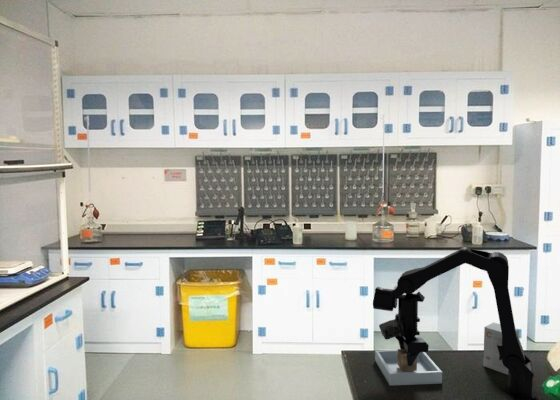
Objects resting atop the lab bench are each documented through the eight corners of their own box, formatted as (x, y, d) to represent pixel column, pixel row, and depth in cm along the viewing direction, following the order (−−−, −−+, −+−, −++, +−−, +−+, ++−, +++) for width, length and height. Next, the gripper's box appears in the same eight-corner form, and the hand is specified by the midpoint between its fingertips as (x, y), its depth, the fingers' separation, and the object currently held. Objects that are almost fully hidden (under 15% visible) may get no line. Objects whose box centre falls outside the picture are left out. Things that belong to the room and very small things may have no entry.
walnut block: (416, 370, 135) (417, 354, 134) (402, 371, 135) (402, 355, 134) (411, 363, 139) (411, 348, 139) (397, 364, 139) (397, 349, 139)
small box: (517, 369, 138) (519, 329, 136) (508, 375, 134) (510, 334, 132) (491, 360, 144) (493, 321, 143) (482, 366, 140) (483, 326, 139)
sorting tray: (441, 383, 130) (442, 372, 129) (389, 385, 129) (389, 374, 129) (421, 359, 145) (422, 348, 145) (375, 360, 144) (375, 350, 144)
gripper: (373, 303, 144) (373, 349, 146) (391, 325, 125) (390, 377, 127) (407, 302, 145) (406, 348, 146) (429, 324, 126) (428, 376, 128)
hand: (407, 361), depth 137 cm, fingers open, 5 cm apart
